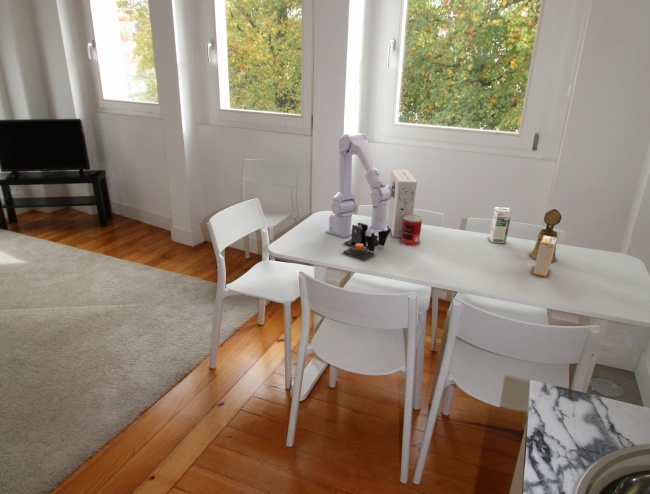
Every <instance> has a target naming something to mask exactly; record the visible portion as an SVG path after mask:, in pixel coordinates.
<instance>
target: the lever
mask: <svg viewBox="0 0 650 494" xmlns="http://www.w3.org/2000/svg"><path fill="white" fill-rule="evenodd" d="M356 226H359V227H362V234H363V235H364V234H365V233H366V232H365V231H364V229H365V228H364V227H363V226H361V225H358V224H357V225H356ZM378 246H380V245H379V239H377V241H376V244H375V247H378Z"/></svg>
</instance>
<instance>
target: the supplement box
mask: <svg viewBox="0 0 650 494" xmlns="http://www.w3.org/2000/svg"><path fill="white" fill-rule="evenodd" d="M556 240H558V238H555V237H550V236H543V238H542V240H541V242H540V246H539V251H538V255H537V259H535V264H534V268H533V273H532V274H533V275H534V276H535V275H536V276H541V277H544V278H546V277H547V275H548V273H549V270H550V267H551V264H552V262H551V260H552V257H553V253H554V249H555V245H556V246H557V241H556Z"/></svg>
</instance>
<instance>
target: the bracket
mask: <svg viewBox="0 0 650 494" xmlns="http://www.w3.org/2000/svg"><path fill="white" fill-rule="evenodd" d="M357 225H361V226H363V227H364V228H365V229H364V231H365V232H366V231H367V230H368V229H369V225H368V224H365V223H362V222H360V221H359V222H357ZM357 225H356V224H351V231H352V234H351V239H349V240H347V241H345V242H344V245H345V246H348V247H350V248H351V247H352V246H354V245H355V244H357V243H361V244H363V246H365V247H367V249H368V244H367V240H366V238H365V236H364V235H363V234H362V227H359V226H357Z"/></svg>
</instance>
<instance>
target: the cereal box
mask: <svg viewBox="0 0 650 494" xmlns="http://www.w3.org/2000/svg"><path fill="white" fill-rule="evenodd" d="M417 184H418V182H417V180H416V179H415V178H414V176H413V175H412V174H411V172H410V171H409V170H408V169H394V168H393V169H391V170H390V180H389V186H390V187H391V190H392V197H391V199H389V200H388V208H387V218H386V222H389V223H390V227H389V229H391V232H390V233H391V235H392V237H393V238H401V236H402V227H403V218H404V216H405V215H414V210H415V201H416V192H417Z"/></svg>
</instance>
